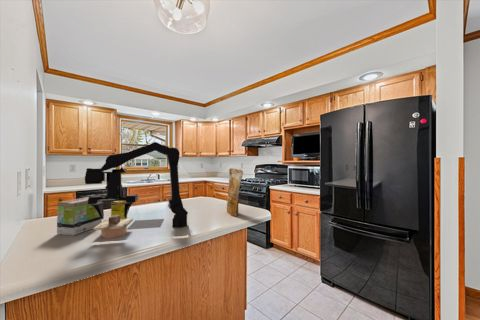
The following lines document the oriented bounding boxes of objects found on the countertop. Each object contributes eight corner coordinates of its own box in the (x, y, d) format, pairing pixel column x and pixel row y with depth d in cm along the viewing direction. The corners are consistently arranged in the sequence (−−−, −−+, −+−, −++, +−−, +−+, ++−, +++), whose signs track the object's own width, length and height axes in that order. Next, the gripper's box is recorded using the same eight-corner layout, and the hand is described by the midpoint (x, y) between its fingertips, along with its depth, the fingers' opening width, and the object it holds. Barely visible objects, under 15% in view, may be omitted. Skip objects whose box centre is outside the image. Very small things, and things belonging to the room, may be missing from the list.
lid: (132, 220, 102) (132, 212, 102) (125, 228, 91) (125, 219, 91) (104, 221, 100) (104, 213, 100) (93, 230, 88) (93, 221, 88)
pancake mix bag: (233, 209, 145) (233, 168, 145) (243, 216, 127) (243, 169, 127) (224, 210, 143) (224, 168, 143) (233, 217, 125) (233, 169, 125)
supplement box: (121, 222, 116) (121, 202, 116) (110, 222, 116) (110, 202, 116) (127, 219, 122) (127, 199, 122) (117, 219, 122) (117, 199, 122)
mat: (164, 220, 119) (164, 218, 119) (160, 229, 104) (160, 227, 104) (135, 222, 116) (135, 220, 116) (126, 231, 101) (126, 229, 101)
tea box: (74, 236, 95) (74, 203, 95) (56, 234, 97) (56, 202, 97) (102, 225, 110) (102, 197, 110) (86, 224, 112) (86, 196, 112)
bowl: (128, 232, 100) (128, 221, 100) (122, 239, 92) (122, 227, 92) (107, 233, 98) (107, 222, 98) (98, 240, 90) (98, 228, 90)
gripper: (141, 180, 105) (141, 212, 105) (98, 181, 101) (98, 214, 101) (134, 183, 94) (135, 219, 94) (86, 184, 90) (87, 221, 90)
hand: (114, 218), depth 95 cm, fingers open, 9 cm apart
